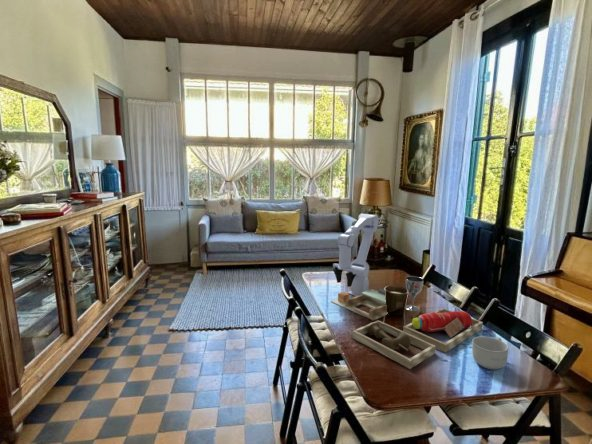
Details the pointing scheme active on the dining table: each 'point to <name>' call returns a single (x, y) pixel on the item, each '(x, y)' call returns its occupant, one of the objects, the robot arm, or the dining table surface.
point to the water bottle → (443, 322)
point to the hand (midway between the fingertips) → (344, 284)
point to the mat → (338, 302)
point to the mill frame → (403, 360)
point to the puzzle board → (376, 306)
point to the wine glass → (413, 290)
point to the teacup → (490, 352)
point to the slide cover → (376, 295)
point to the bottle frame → (451, 343)
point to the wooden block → (343, 297)
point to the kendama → (387, 341)
